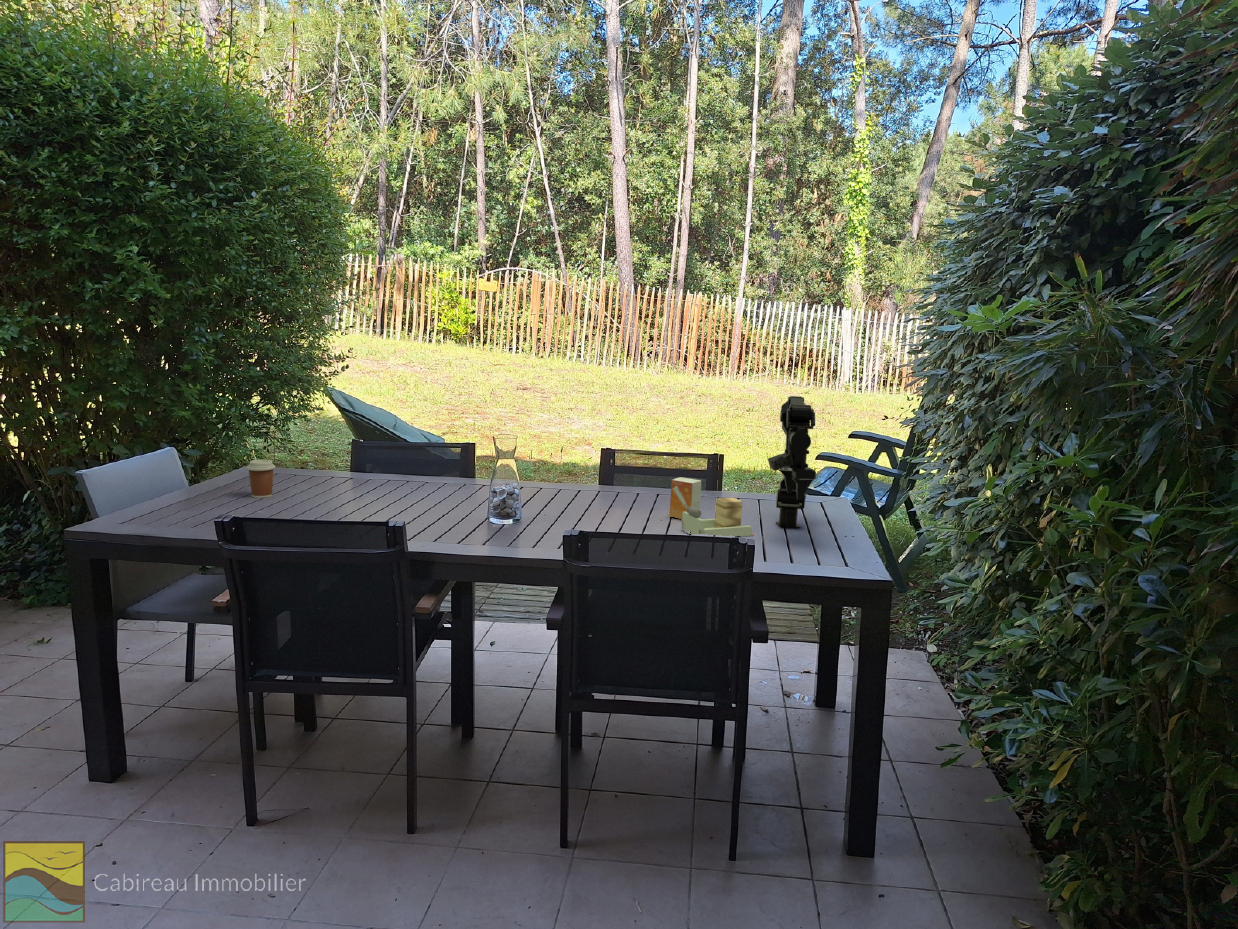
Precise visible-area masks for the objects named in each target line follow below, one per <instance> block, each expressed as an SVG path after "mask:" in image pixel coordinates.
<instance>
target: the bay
mask: <svg viewBox="0 0 1238 929" xmlns="http://www.w3.org/2000/svg"><path fill="white" fill-rule="evenodd" d="M686 511H687V512H683V516H682V520H681V530H682V529H684V530H686V531H689V532H691V533H688V534H687V535H689V534H708V535H722V536H730V535H732V536H741V535H742V536H741V537H740V538H742V537H753V536H755V534H754V533H753V526H752V525H741V526H736V527H723V528H715V518H706V519H705V518H704V519H703V518H701V516H702V511H701V509H700V510H698V509H696V508H694V507H692V506H689V507H688V508H687V510H686Z"/></svg>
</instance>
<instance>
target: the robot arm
mask: <svg viewBox="0 0 1238 929" xmlns="http://www.w3.org/2000/svg"><path fill="white" fill-rule="evenodd" d="M779 413H780V415H779V422H780V423H781V429H782V432H784V434H785V448H784V452H783V453H780V454H777V455H775V456H771V457H769V458H767V462H768V464H769V468H770V469H771V470H772V471H775V472H776V471H779V472H780V473H781V475H783V479H782V480H781V481H780V483H779V487H778V489H777V491H776V497H775V507H776V509H779V516H778V517H779V518H778V519H779V520H778V521H774V522H775V524H776V525H777V526H778V527H780V529H800V528H801V525H799V524H798V512H799V510H803V509H805V506H806V499H807V494H806V492H807V490H808V488H809V487H810V486H811V484H812V483H813V482H814V480H816V479H817V472H816V471H815V469H813V468H811V467H809V464H808V463H807V455H810V450H809V447H811V443H812V439H811V437H810V435H809V430H814V427H816V412H815V410H814V409H813V408H812V405H811V404H806V403H805V397H804V396H800V395H799V396H798V395H797V396H796V395H790V396H788V397H787V401H785V402H784V403H783V404H782V405H781V407H780V412H779Z"/></svg>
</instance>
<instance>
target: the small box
mask: <svg viewBox="0 0 1238 929" xmlns="http://www.w3.org/2000/svg"><path fill="white" fill-rule="evenodd" d="M701 493H702V480H700V479H696V478H695V479H694V478H691V477H690V478H689V477H688V478H687V477H682V476H680V477H676V478H673V479H671V485H670V501H669V502H670V503H669V518H670V517H675V518H679V519H682V516H683V512H687V511H686V510H687V508H688V507H689V506H692V507H694V508H696V509H698V510H700V511H701ZM679 519H678V520H679Z"/></svg>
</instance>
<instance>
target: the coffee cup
mask: <svg viewBox="0 0 1238 929" xmlns="http://www.w3.org/2000/svg"><path fill="white" fill-rule="evenodd" d="M275 469H276V465H275V464H274V463H273V461H272V460H271V459H260V458H259V459H253V460H250V461H249V464H248V465H247V466H246V470H247V471H248V475H249V483H250V484H249V485H250V489H251V490H250V492H251V497H252V498H257V499H259V498H260V499H265V498H270V497H272V496H273V487H274V486H273V484H274V470H275Z"/></svg>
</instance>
